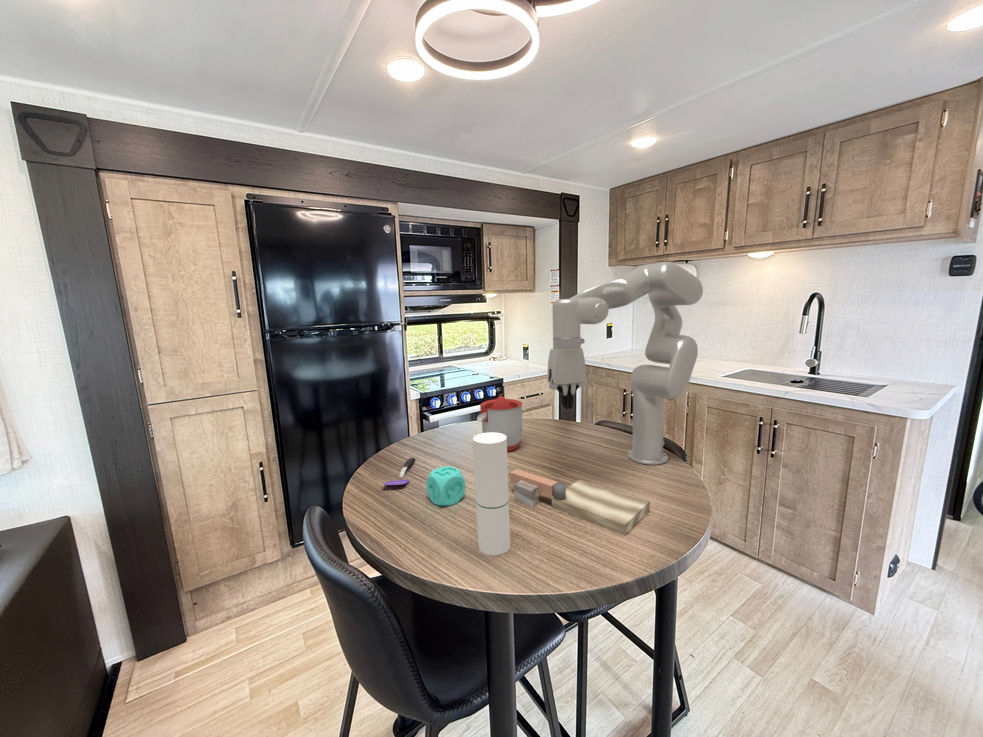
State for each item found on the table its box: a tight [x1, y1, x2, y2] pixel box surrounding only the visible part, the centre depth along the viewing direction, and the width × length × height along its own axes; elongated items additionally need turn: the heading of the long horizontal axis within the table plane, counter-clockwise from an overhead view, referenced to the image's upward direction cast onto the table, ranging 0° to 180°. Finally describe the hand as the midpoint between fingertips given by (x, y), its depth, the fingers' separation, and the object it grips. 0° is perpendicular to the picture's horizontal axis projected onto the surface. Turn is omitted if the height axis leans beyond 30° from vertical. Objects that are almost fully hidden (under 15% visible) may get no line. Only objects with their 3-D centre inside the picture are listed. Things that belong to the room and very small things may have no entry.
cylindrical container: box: [472, 432, 511, 557], centre depth 85 cm, size 7×7×25 cm
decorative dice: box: [425, 466, 466, 507], centre depth 108 cm, size 8×8×8 cm
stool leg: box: [509, 468, 567, 499], centre depth 106 cm, size 17×3×3 cm, turn 48°
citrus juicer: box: [476, 395, 523, 452], centre depth 145 cm, size 16×17×20 cm
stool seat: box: [513, 479, 651, 536], centre depth 102 cm, size 17×30×4 cm, turn 46°
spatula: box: [382, 457, 416, 486], centre depth 127 cm, size 24×7×2 cm, turn 177°
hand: (567, 407), depth 111 cm, fingers closed
